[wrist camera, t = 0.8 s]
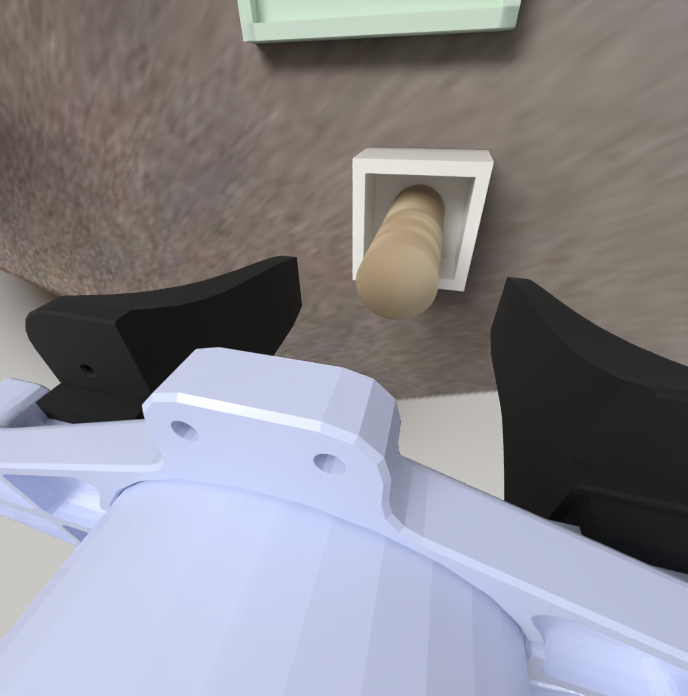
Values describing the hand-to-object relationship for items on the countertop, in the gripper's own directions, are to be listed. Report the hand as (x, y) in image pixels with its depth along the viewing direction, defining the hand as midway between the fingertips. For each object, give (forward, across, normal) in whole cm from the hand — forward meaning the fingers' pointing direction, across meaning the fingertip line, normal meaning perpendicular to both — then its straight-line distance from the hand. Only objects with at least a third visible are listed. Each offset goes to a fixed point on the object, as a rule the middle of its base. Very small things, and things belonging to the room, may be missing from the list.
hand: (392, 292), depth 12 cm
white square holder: (+10, 0, 0) cm, 10 cm away
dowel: (+10, 0, 0) cm, 10 cm away
